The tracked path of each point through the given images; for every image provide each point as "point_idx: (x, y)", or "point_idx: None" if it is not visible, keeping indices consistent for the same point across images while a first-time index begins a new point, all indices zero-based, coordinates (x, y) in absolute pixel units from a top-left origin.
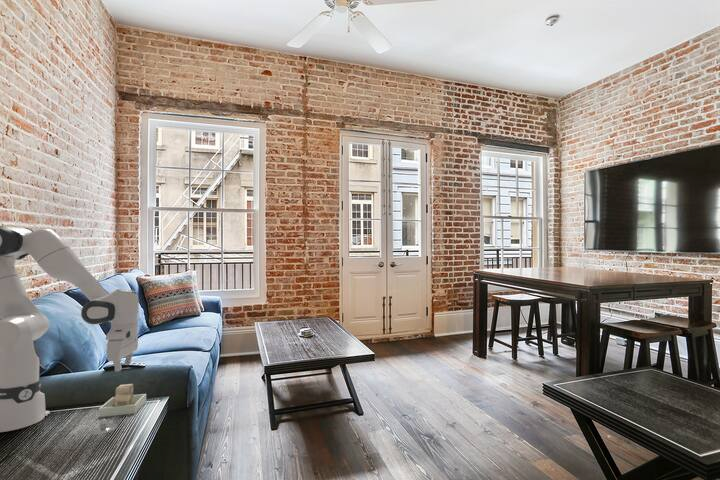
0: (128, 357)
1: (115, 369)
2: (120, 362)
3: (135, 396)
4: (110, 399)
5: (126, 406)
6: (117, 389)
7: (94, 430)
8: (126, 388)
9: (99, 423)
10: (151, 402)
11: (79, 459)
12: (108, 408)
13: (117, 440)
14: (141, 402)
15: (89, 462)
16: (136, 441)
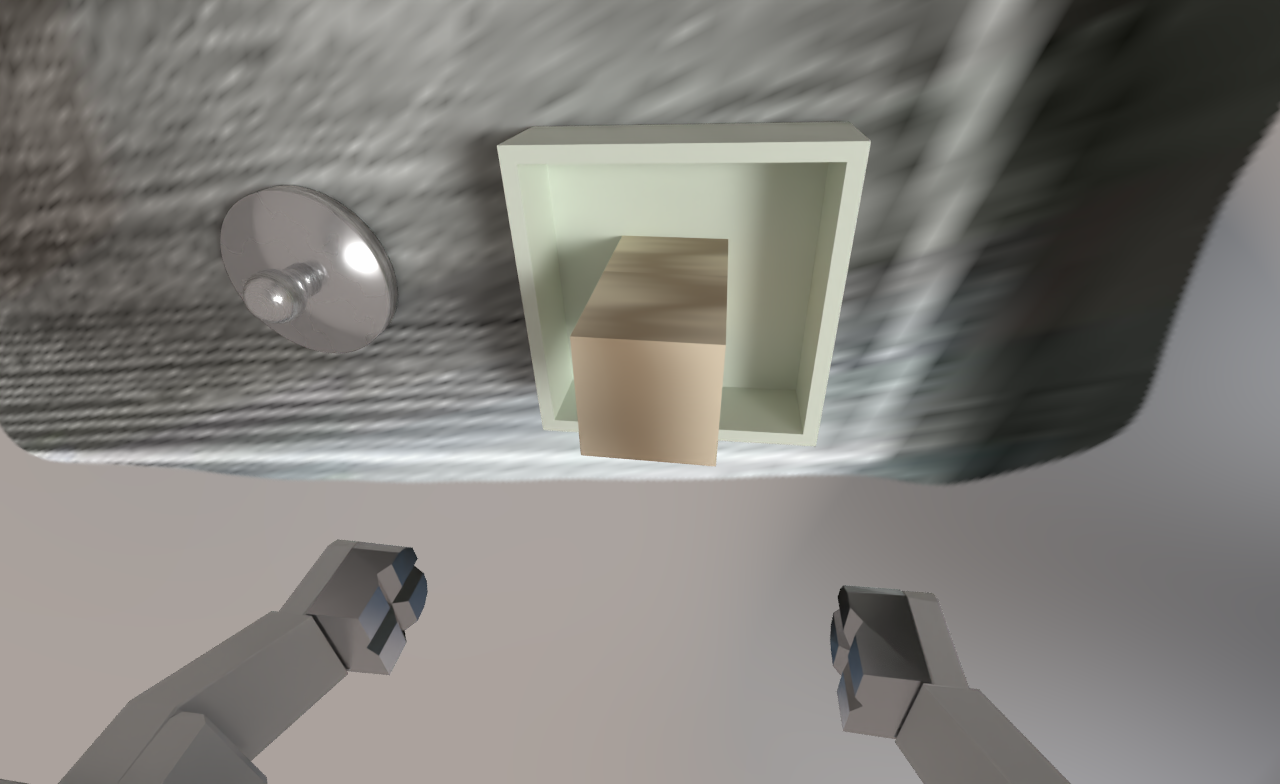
0: (953, 773)
1: (320, 571)
2: (252, 758)
3: (812, 365)
4: (779, 151)
5: (535, 372)
6: (573, 349)
7: (275, 227)
8: (582, 432)
9: (248, 279)
10: (841, 416)
11: (28, 280)
12: (516, 235)
13: (241, 383)
14: None
15: (29, 339)
16: (248, 464)
